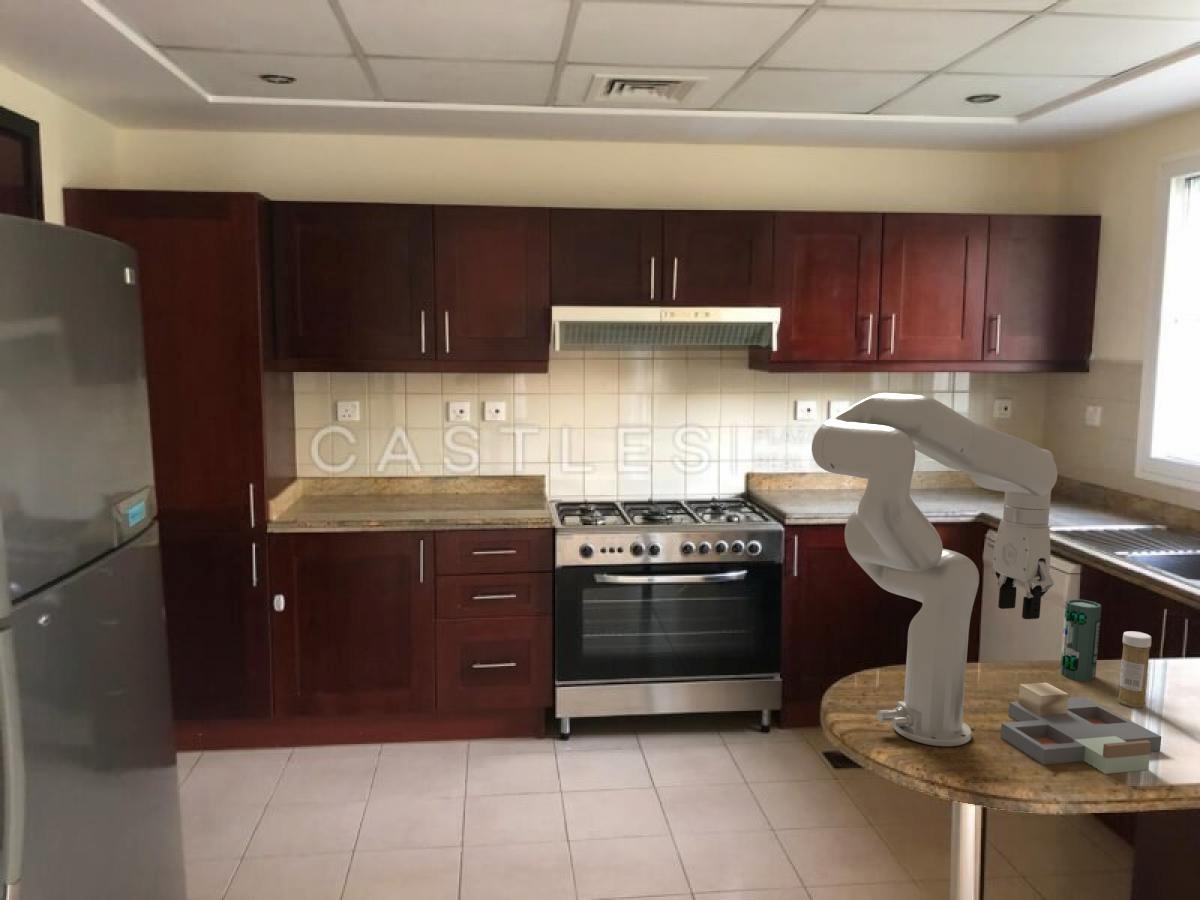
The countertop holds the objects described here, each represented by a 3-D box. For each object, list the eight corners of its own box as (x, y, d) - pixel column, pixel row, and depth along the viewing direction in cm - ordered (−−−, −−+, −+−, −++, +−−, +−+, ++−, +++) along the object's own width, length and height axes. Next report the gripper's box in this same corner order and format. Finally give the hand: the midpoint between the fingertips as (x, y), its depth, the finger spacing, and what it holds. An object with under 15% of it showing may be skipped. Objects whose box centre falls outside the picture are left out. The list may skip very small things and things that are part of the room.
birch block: (1039, 715, 159) (1040, 695, 159) (1018, 703, 164) (1019, 684, 164) (1066, 713, 160) (1068, 693, 160) (1044, 701, 166) (1046, 682, 165)
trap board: (1063, 777, 141) (1065, 749, 141) (971, 718, 163) (973, 694, 163) (1188, 765, 146) (1190, 738, 146) (1082, 709, 169) (1084, 686, 168)
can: (1058, 668, 191) (1064, 598, 189) (1091, 672, 189) (1097, 601, 187) (1063, 678, 185) (1069, 605, 183) (1097, 682, 183) (1103, 609, 181)
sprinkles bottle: (1150, 705, 172) (1156, 635, 170) (1137, 710, 169) (1144, 639, 167) (1124, 697, 175) (1131, 628, 174) (1112, 702, 173) (1118, 632, 171)
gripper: (977, 508, 174) (971, 601, 176) (1040, 525, 157) (1032, 628, 159) (1012, 507, 176) (1005, 599, 178) (1078, 524, 159) (1069, 626, 161)
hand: (1018, 612), depth 168 cm, fingers open, 5 cm apart
